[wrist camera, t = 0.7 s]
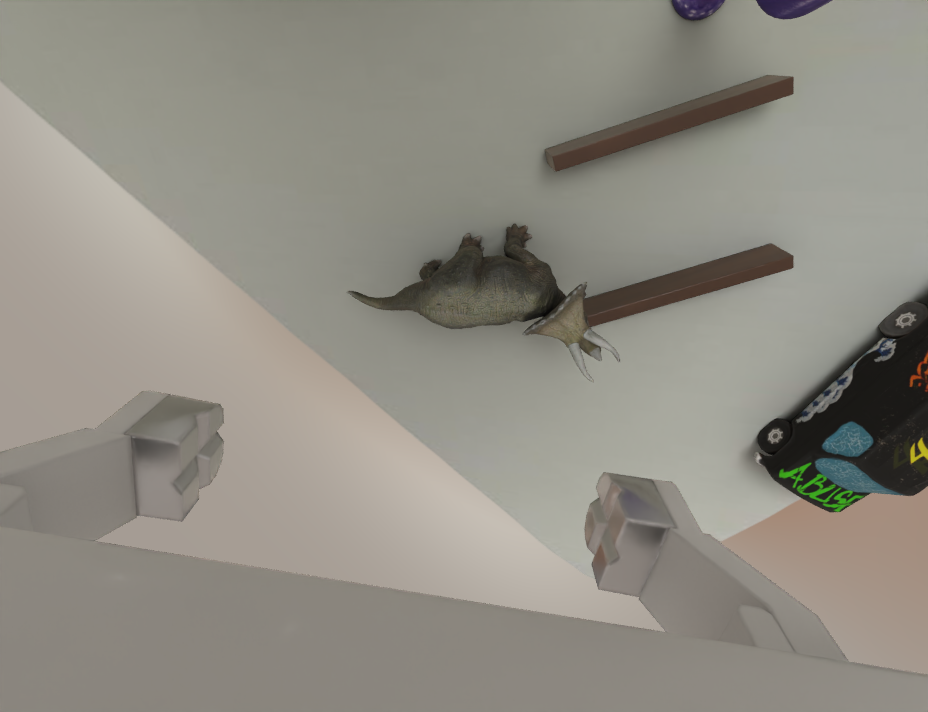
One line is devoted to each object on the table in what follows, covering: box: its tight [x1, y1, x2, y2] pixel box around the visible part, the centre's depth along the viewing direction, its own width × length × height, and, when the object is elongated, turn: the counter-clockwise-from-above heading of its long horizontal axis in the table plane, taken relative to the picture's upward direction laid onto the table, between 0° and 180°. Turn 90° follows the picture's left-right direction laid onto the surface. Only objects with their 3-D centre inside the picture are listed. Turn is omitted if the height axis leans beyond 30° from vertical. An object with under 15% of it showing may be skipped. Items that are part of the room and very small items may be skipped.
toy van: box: [754, 302, 928, 512], centre depth 53 cm, size 11×25×10 cm, turn 148°
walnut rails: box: [545, 75, 793, 327], centre depth 45 cm, size 15×18×4 cm
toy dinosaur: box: [347, 224, 620, 382], centre depth 43 cm, size 22×8×11 cm, turn 79°
